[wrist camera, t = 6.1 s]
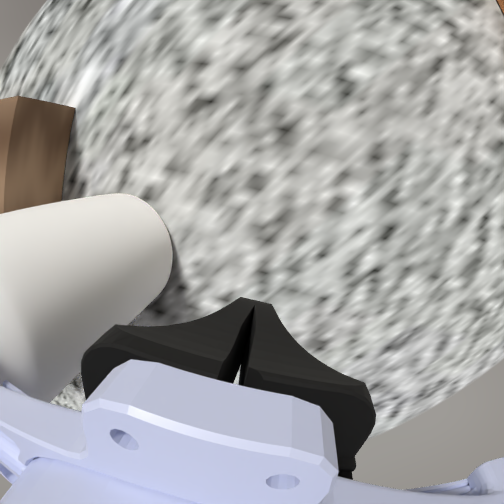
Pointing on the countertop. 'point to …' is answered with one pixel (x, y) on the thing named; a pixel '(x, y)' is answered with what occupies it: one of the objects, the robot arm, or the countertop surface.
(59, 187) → the rail
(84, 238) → the can
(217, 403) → the robot arm
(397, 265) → the countertop surface
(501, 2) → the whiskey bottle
